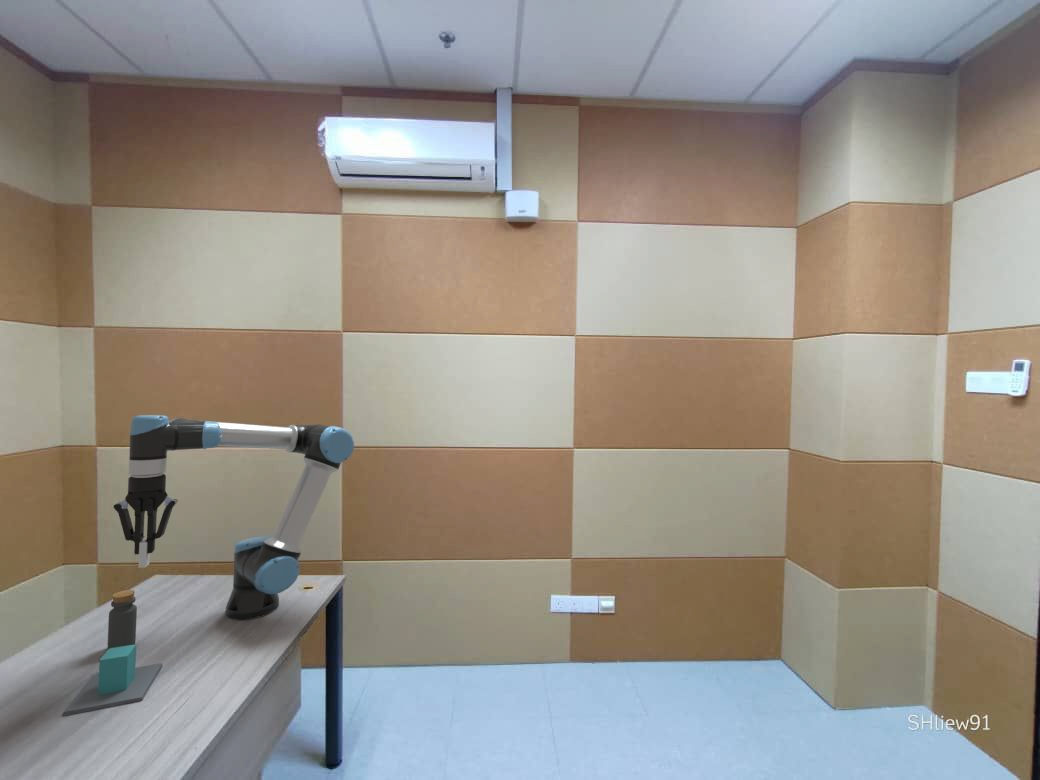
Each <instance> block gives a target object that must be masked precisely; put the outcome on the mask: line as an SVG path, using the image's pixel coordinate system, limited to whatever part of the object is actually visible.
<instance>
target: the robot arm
mask: <svg viewBox="0 0 1040 780" xmlns="http://www.w3.org/2000/svg"><path fill="white" fill-rule="evenodd" d="M218 447H225V448H226V447H229V448H231V447H232V448H248V449H249V448H251V449H270V450H271V449H273V450H285V452H287V453H297V454H302V455H304V457H303V461H304V463H305V466H304V467H303V470H302V472H301V475H300V476H299V478H298V481H297V483H296V484H295V487H294V489H293V491H292V493H291V496H290V498H289V500H288V501H287V504H286V506H285V507H284V510H283V512H282V515H281V517H280V519H279V520H278V523H277V525H276V528H275V529H274V532H273V534H272V536H271V535H270V536H269V535H268V536H258V537H251V538H247V539H243V540H240V541H238V542H237V543H236V544H235V545H234V552H233V556H234V557H233V577H232V578H233V582H232V583H233V584H232V586H233V587H232V591H231V592H230V595H229V598H228V601H227V603H226V607H225V616H226V617H227V618H228V619H231V620H234V621H235V620H237V621H243V620H244V621H245V620H252V619H257V618H260V617H264V616H266V615H268V613H269V614H271V613H272V612H274V611H275V610H277V608H278V607H279V605H280V597H279V594H281V593H283V592H284V591H286V590H288V589H289V588H290V587H292V586H293V585H294V583H295V582H296V581H297V579H298V578H299V577H298V576H299V574H300V564H299V562H298V561H299V558H300V557H301V554H302V551H303V550H302V548H301V545H300V544H301V542H302V539H303V537H304V535H305V533H306V531H307V528H308V526H309V525H310V522H311V520H312V518H313V515H314V513H315V510H316V508H317V506H318V504H319V502H320V500H321V498H322V495H323V493H324V491H325V488H326V486H327V484H328V482H329V479H331V478H330V477H331V475H332V474H333V473H335V472H337V471H339V469H340V466H341V465H342V463H343V462H345V461H347V460H348V459H350V457H351V456H352V454H353V452H354V449H355V448H354V447H355V441H354V438H353V435H352V434H351V433H350V432H349V431H348V430H347V429H345V428H342V427H339V426H336V425H326V424H290V425H289V426H276V425H263V424H251V423H250V424H248V423H235V422H225V421H211V420H210V421H209V420H199V419H198V420H197V419H196V420H195V419H187V418H179V417H178V418H174V419H172V420H169V417H168V415H164V414H163V415H162V414H160V415H159V414H153V415H152V414H151V415H149V414H148V415H147V414H143V415H140V414H139V415H135V416H134V417H133V418H132V419H131V424H130V431H129V458H128V475H129V477H128V481H127V483H128V485H127V494H126V496H125V498H124V500H122V501H119V502H117V503H115V504H113V509H114V510H115V511H116V512H117V514H118V517H119V521H120V525H121V529H122V532H123V534H124V535H123V536H124V539H125V541H132V542H133V543H134V551H133V552H134V553H133V554H134V555H138V569H142V568H143V569H144V568H146V567H147V566H149V565H150V561H151V560H150V559H151V557H150V556H151V554H153V552H155V548H156V546H155V545H156V540H157V539H160V538H161V537H163V535H165V532H166V530H167V526H168V523H169V520H170V517H171V513H172V510H173V508H174V507H175V505H176V504H177V503H178V499H176V498H171V497H169V496H168V493H167V490H166V483H167V482H166V481H167V478H166V477H167V476H166V474H165V473H166V472H167V460H168V459H167V457H168V455H167V454H168V452H169V451H182V450H183V451H185V450H186V451H187V450H199V449H200V450H206V449H213V448H218ZM163 503H164V507H165V508H164V510H163V512H162V514H161V518H160V522H159V524H158V527H157V517H158V515H157V513H158V508H159V507H160V506H161V505H162V504H163ZM129 506H130V507H131V509H133V511H134V526H133V522H132V518H131V516H130V512H129V509H128V508H129ZM145 514H146V516H147V523H146V526H147V528H146V539H144V538H145V536H144V533H145ZM273 610H274V611H273ZM270 612H271V613H270ZM263 615H264V616H263Z"/></svg>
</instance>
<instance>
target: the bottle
mask: <svg viewBox="0 0 1040 780" xmlns="http://www.w3.org/2000/svg"><path fill="white" fill-rule="evenodd" d="M135 592H136V591H135V589H134V590H133V589H125V590H121V591H117V592H116V593H114V594H112V596H111V597H112V601H111V603H110V606H111V608H112V609H110V611H109V612H108V623H107V624H108V626H107V627H108V628H107V629H108V630H107V650H108V649H109V648H115V647H122V646H128V645H135V644H136V640H137V639H136V636H137V617H138V615H137V613H138V612H137V611H138V610H137V609H138V607H137V605H136V604H135V602H136V596H135Z"/></svg>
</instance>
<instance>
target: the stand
mask: <svg viewBox="0 0 1040 780" xmlns="http://www.w3.org/2000/svg"><path fill="white" fill-rule="evenodd" d="M163 664H164V663H163V662H160V663H156V664H150V665H149V664H148V665H145V666H137V667H136V666H135V677H134V679H133V680H132V682H131V683H130V685H129V686H128V688H127V689H126V690H121V691H116V692H111V693H105V694H100V695H98V686H99V673H95V674H92V675H91V676H90V678H89V679H88V680H87V681H86V683H85V684H84V685H83V686H82V688H81V689H80V690H79V692H78V693H77V694H76V695H75V696H74V698H73V699H72V700H71V701H70V703H69V704H68V705H67V706H66V707H65V709H64V710H63V711H62V717H64V716H68V715H69V716H70V715H74V714H78V713H84V712H89V711H95V710H101V709H105V708H110V707H115V706H122V705H125V704H126V705H127V704H131V703H135V702H136V703H137V702H141V701H143V700H144V698H145V697H146V695H147V693H148V691H149V690H150V688H151V686H152V685H153V683H154V681H155V680H156V679H157V676H158V675H159V673H160V672H161V670H162V667H163Z"/></svg>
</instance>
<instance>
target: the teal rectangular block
mask: <svg viewBox="0 0 1040 780" xmlns="http://www.w3.org/2000/svg"><path fill="white" fill-rule="evenodd" d="M136 656H137V644H136V643H135V645H128V646H122V647H115V648H109V649H108V648H107V650H106V652H105V653H104V654H103V656H102V657H100V659H99V662H98V663H99V664H98V665H99V666H98V674H99V686H98V695H100V694H105V693H111V692H116V691H121V690H126V689H127V688H128V686H129V685H130V683H131V682H132V680H133V679H134V677H135V668H136V658H137V657H136Z"/></svg>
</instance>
